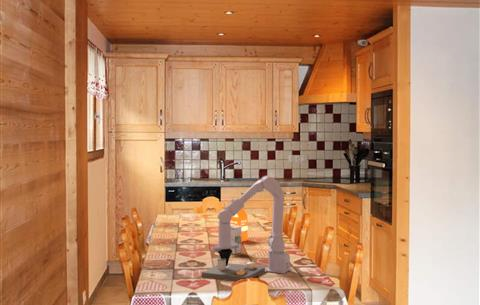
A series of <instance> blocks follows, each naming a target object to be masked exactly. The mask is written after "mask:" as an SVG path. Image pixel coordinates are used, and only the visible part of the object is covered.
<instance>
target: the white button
mask: <svg viewBox="0 0 480 305" xmlns="http://www.w3.org/2000/svg"><path fill="white" fill-rule="evenodd" d="M245 265H246V269H247V270H255V266H256V262H254V261H247V262H246V263H245Z"/></svg>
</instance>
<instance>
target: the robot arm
mask: <svg viewBox="0 0 480 305" xmlns="http://www.w3.org/2000/svg"><path fill="white" fill-rule="evenodd" d="M265 190H266V191H267V192H269V194H271V196H272V197H273V202H272V218H271V231H270V234H269V235H270V236H269V238H268V240H267V245H268V246H269V249H268V268H267V269H265V272H270V273H278V274H286V273H287V272H289V271H290V270H291V266H290V265H291V264H290V263H291V261H290V259H291V257H290V253H289V252H287V251H286V252H285V247H286V246H285V242H284V234H283V222H284V209H285V208H284V206H285V192H284V190H283V188H282V187H281V185H280V184H279V181H278V180H276V179H275V178H274V177H272V176H270V175H264V176H262V177H261V178H260V179H258V180H257V181H256V182H254V183H253V184H252V186H250V187H249V188H248V189H247V190H246V191H245V192H244V193H243V194H242V195H241V196H240V197H235V198H232V199H231V200H230V201H231V202H229V203H228V204H227V205H226V206H224V207H223V209H221V210H220V211H219V212H218V214H217V219H218V244H217V245H213V246H211V247H210V252H211V253H215V252H217V253H218V255H219V258H222V259H226V266H227V265H228V263H229V261H230V257H231V255H233V254H232V250H231V249H233V248H239V244H237V243H235V244H231V226H230V221H231V219H232V217H233V216H235V215H236V214H237V213H238V212H239V211H240V210H241V209H242V208H243V209H244V208H245V203H246V202H247V201H249V200H250V199H251V198H252V197H253V196H255V195H256V194H257V193H261V192H264V191H265Z"/></svg>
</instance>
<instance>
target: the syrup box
mask: <svg viewBox="0 0 480 305" xmlns="http://www.w3.org/2000/svg"><path fill="white" fill-rule="evenodd" d="M235 243H237V244H239V248H233V249H231V250H232V254H231V255H237V254H241V253H242V243H243V241H242V227H241V226H238V225H233V226H231V244H235Z"/></svg>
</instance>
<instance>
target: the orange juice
mask: <svg viewBox="0 0 480 305" xmlns="http://www.w3.org/2000/svg"><path fill="white" fill-rule="evenodd" d="M233 225H238V226H241V227H242V242H245V241H248V239H249V238H248V236H249V234H248V233H249V232H248V229H249V228H248V215H247V213H246V210H245V209H244V208H242V209H241V210H240V211H239V212H238V213H237V214H236V215H235V216H233V217H232V219H231V221H230V226H233Z"/></svg>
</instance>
